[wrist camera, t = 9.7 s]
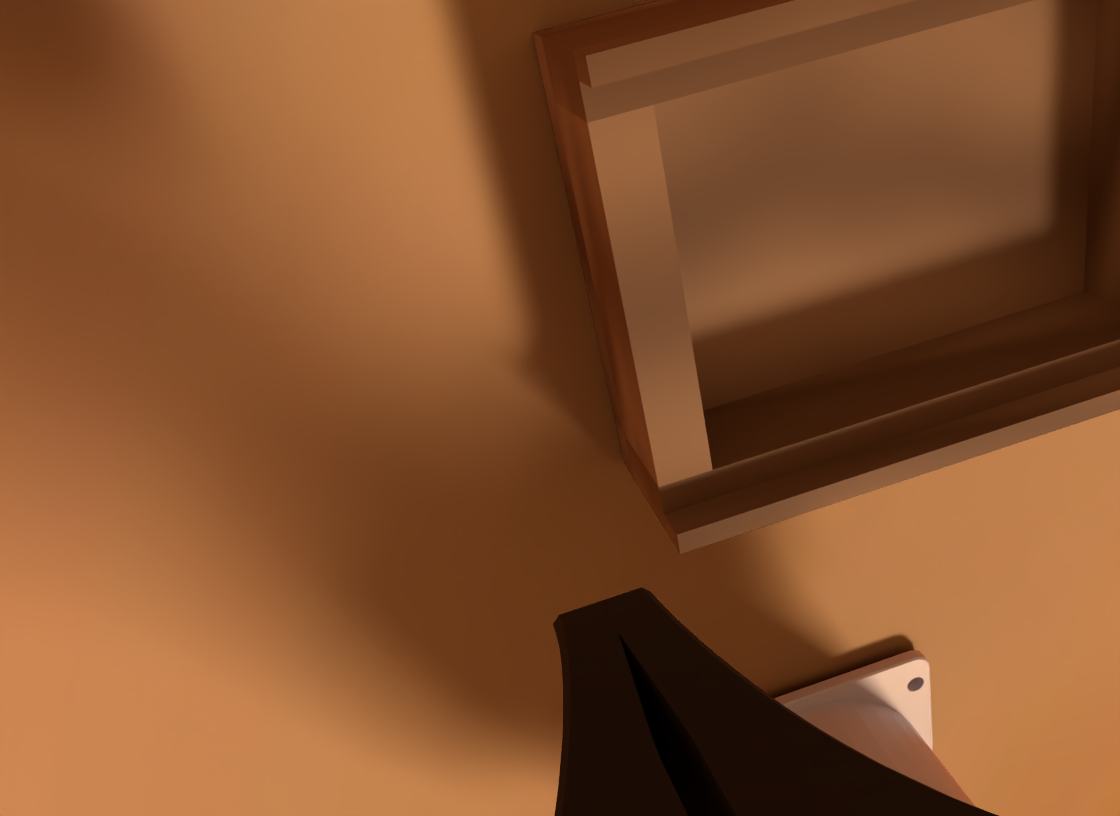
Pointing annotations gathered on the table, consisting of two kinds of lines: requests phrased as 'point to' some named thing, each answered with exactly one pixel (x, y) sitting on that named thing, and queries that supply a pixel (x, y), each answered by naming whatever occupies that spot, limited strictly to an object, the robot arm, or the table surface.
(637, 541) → the table surface
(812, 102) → the walnut box
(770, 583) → the table surface
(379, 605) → the table surface
